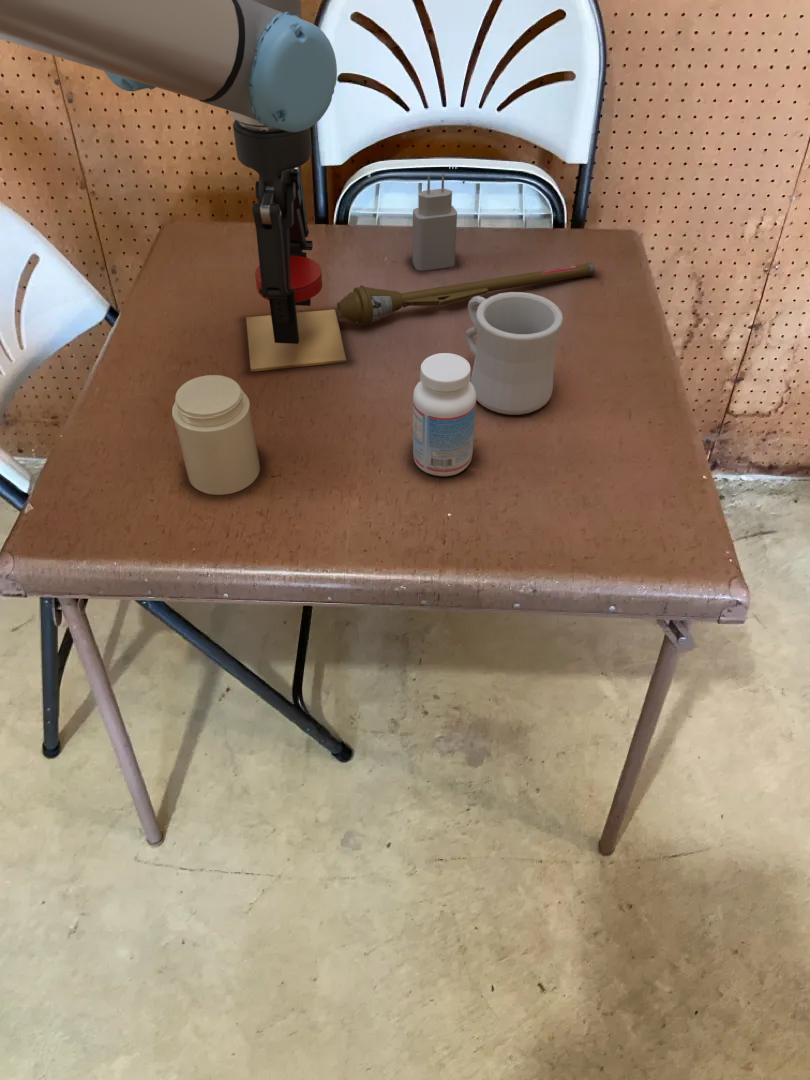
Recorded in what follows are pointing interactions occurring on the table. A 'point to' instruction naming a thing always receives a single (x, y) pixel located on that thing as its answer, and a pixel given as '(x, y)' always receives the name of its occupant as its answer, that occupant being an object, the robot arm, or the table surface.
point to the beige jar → (216, 434)
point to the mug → (513, 350)
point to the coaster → (314, 345)
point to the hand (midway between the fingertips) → (293, 321)
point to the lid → (300, 278)
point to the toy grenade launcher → (442, 293)
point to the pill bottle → (444, 415)
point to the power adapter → (434, 229)
